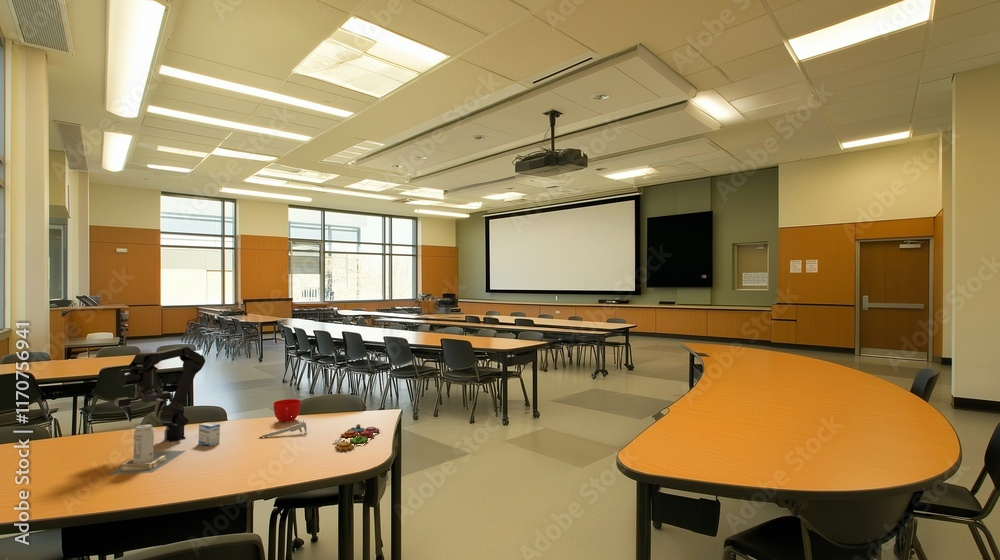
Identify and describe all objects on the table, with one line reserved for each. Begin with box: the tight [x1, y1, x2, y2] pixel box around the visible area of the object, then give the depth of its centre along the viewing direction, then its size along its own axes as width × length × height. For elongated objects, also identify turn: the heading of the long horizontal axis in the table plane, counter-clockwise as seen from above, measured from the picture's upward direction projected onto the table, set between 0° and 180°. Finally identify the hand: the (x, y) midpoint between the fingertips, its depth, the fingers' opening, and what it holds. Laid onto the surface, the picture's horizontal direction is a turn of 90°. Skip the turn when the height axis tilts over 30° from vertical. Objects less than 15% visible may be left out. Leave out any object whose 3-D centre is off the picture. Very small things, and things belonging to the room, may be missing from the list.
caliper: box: [258, 420, 308, 439], centre depth 216 cm, size 20×1×6 cm, turn 115°
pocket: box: [119, 455, 166, 471], centre depth 178 cm, size 9×11×2 cm
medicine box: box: [198, 422, 221, 447], centre depth 204 cm, size 8×4×9 cm, turn 68°
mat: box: [107, 450, 187, 476], centre depth 182 cm, size 24×15×1 cm, turn 9°
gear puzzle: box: [332, 423, 381, 452], centre depth 209 cm, size 31×16×4 cm, turn 175°
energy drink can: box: [132, 423, 155, 464], centre depth 178 cm, size 6×6×15 cm
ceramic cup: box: [273, 398, 302, 423], centre depth 239 cm, size 13×17×10 cm
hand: (143, 419), depth 196 cm, fingers open, 9 cm apart
